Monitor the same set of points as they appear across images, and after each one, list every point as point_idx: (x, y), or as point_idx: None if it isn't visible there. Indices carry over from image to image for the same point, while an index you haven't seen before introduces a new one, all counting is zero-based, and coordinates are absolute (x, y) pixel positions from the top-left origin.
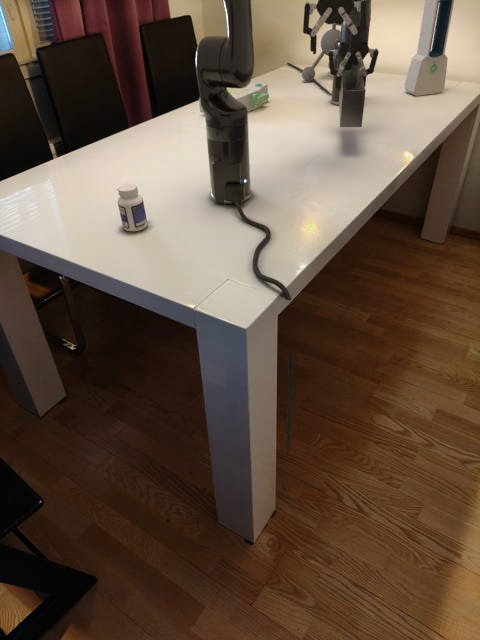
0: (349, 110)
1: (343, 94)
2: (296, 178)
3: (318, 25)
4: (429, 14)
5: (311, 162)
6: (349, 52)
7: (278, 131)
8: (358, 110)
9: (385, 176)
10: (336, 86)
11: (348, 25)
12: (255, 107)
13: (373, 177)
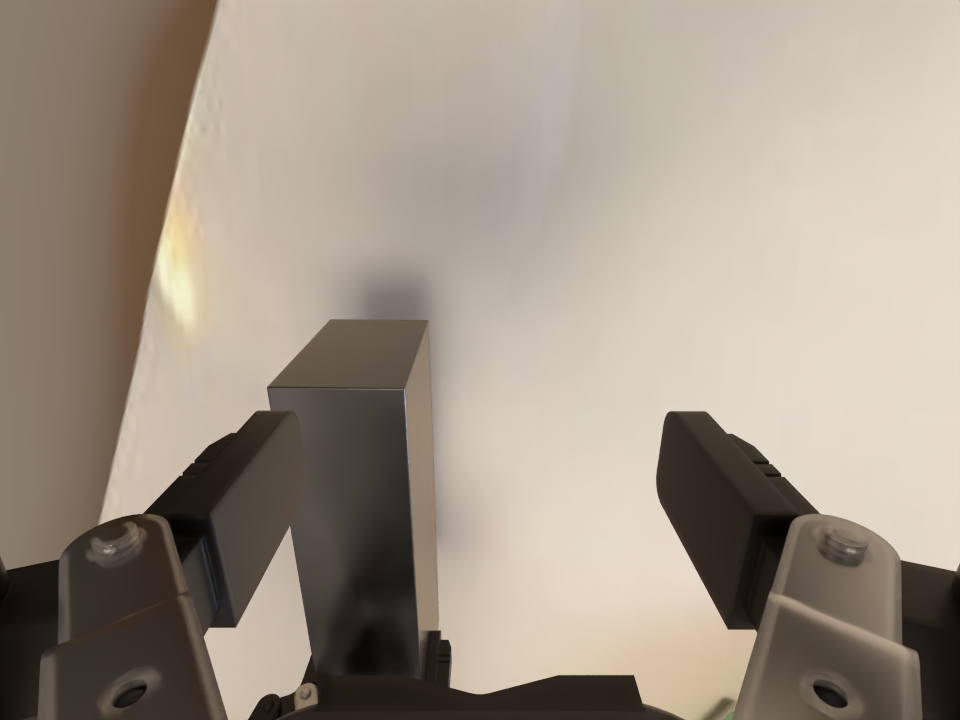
0: (377, 345)
1: (402, 379)
2: (611, 9)
3: (850, 625)
4: None
5: (543, 209)
6: (299, 433)
7: (656, 532)
8: (331, 345)
9: (242, 45)
10: (448, 648)
11: (167, 602)
12: (733, 714)
13: (289, 31)
